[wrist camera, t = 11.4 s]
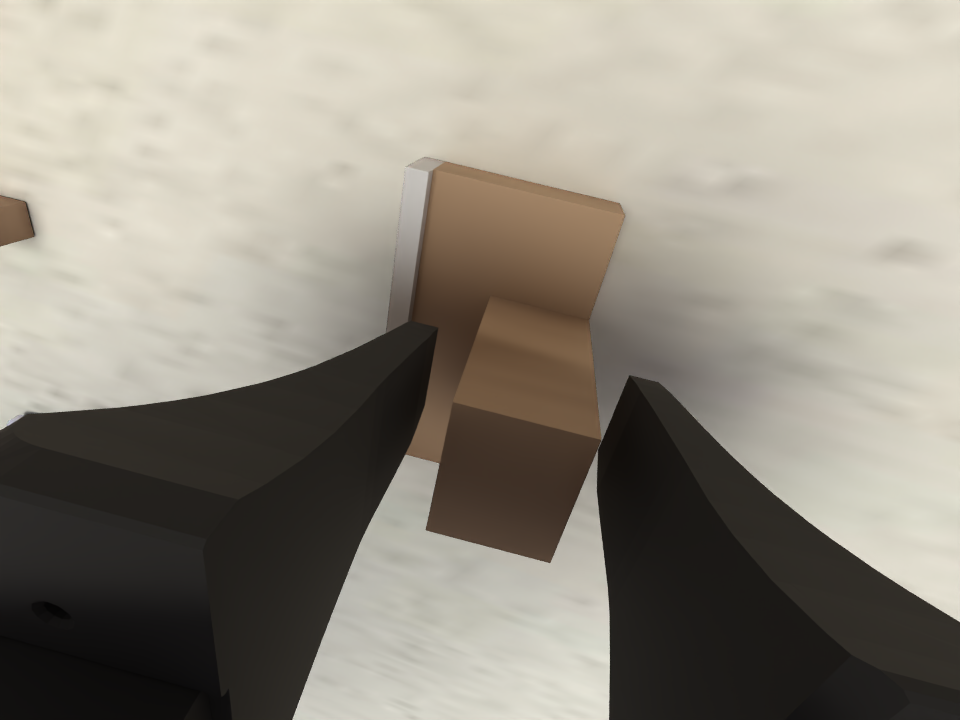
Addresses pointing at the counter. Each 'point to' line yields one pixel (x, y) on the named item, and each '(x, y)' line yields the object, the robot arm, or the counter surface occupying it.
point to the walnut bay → (14, 221)
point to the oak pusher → (503, 347)
